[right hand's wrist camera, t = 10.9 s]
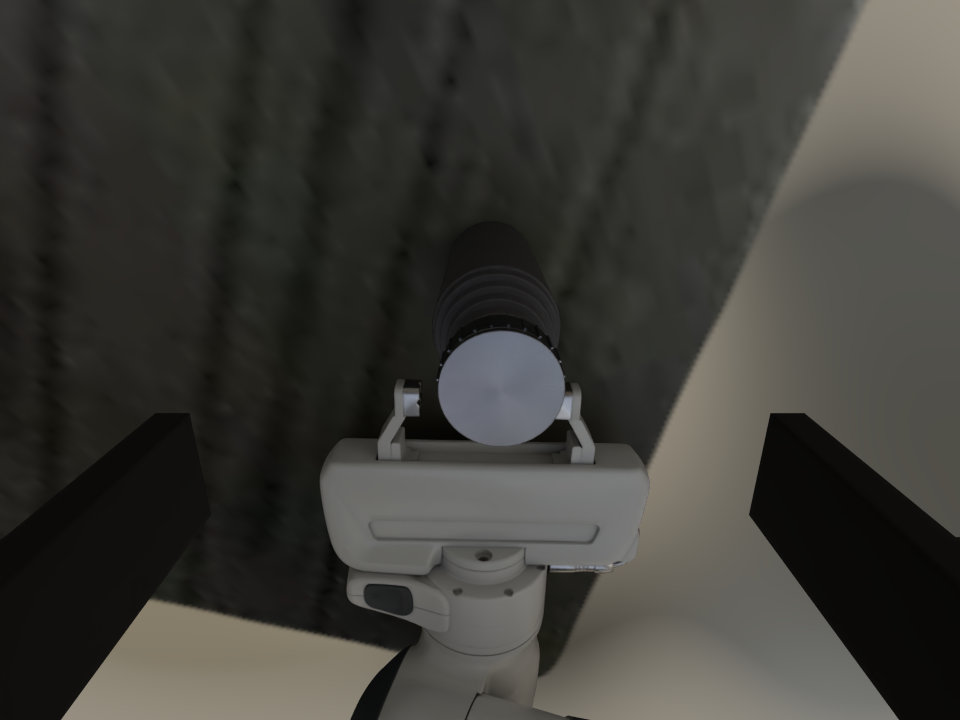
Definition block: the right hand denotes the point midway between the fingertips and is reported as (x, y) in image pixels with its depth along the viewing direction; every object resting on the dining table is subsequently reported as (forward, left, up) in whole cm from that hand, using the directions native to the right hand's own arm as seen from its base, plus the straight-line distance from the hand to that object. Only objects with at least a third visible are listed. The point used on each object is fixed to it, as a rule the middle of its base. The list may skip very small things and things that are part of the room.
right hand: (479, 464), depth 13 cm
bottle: (-1, +1, -25) cm, 25 cm away
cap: (-1, +1, -5) cm, 5 cm away
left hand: (+1, +6, -19) cm, 20 cm away
